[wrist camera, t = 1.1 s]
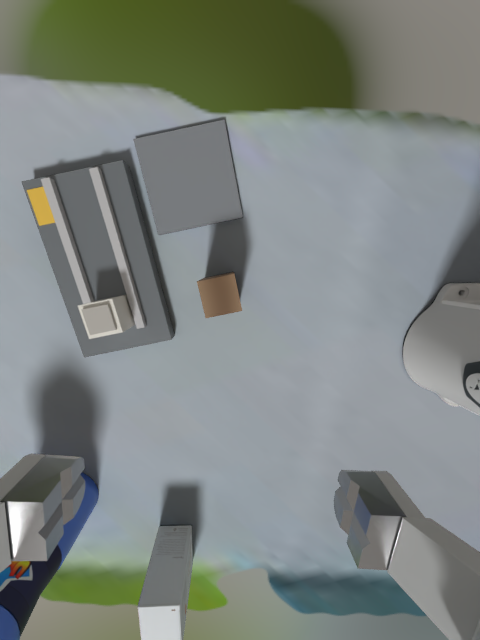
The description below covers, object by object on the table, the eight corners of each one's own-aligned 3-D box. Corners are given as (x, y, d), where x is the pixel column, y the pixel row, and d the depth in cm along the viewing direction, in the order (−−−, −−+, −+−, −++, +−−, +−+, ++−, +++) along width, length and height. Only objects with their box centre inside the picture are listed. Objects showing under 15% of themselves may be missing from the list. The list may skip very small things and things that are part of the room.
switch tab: (126, 294, 32) (110, 299, 28) (135, 324, 33) (121, 333, 29) (96, 300, 33) (75, 306, 28) (105, 330, 33) (87, 340, 29)
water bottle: (95, 520, 42) (-92, 870, 18) (37, 510, 42) (-241, 862, 17) (103, 474, 40) (-92, 793, 16) (42, 463, 40) (-260, 780, 15)
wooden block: (233, 271, 34) (234, 273, 27) (239, 300, 35) (242, 310, 27) (204, 277, 34) (197, 281, 27) (211, 306, 35) (205, 318, 28)
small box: (159, 524, 43) (136, 606, 33) (192, 523, 43) (180, 605, 33) (161, 561, 45) (140, 650, 34) (193, 560, 45) (182, 648, 35)
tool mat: (224, 122, 31) (224, 119, 30) (242, 217, 33) (242, 216, 32) (135, 141, 31) (133, 139, 30) (159, 235, 33) (158, 234, 32)
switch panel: (129, 166, 31) (119, 157, 29) (174, 335, 36) (169, 341, 33) (34, 186, 31) (15, 179, 29) (92, 352, 36) (80, 359, 33)
